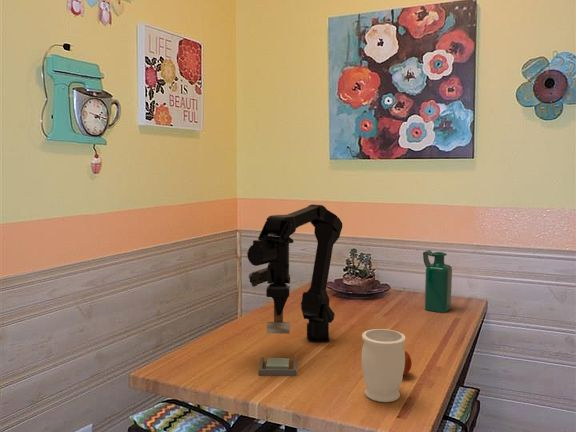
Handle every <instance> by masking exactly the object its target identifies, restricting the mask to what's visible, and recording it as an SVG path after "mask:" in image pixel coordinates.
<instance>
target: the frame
mask: <svg viewBox="0 0 576 432" xmlns="http://www.w3.org/2000/svg"><path fill="white" fill-rule="evenodd" d="M264 360H265V358H264V356H261V357H260V359H259V366H258V376H267V377H268V376H273V377H275V376H277V377H279V376H285V377H286V376H288V377H289V376H291V377H292V376H293V377H296V376H297V357H296V356H294V357H293V362H292V363H293V364H292V365H293V366H292V367H293V368H289V369H266V368H264V362H265V361H264Z"/></svg>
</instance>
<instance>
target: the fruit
mask: <svg viewBox="0 0 576 432" xmlns="http://www.w3.org/2000/svg"><path fill="white" fill-rule="evenodd" d="M404 351H405V367H404V372H403V376H405V375H406V374H408V373H409V372H410V371H411V368H412V362H413V361H412V358H411V356H410V354H409V352H407V351H406V350H404Z"/></svg>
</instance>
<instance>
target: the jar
mask: <svg viewBox="0 0 576 432" xmlns="http://www.w3.org/2000/svg"><path fill="white" fill-rule="evenodd" d="M361 338H362V341H363V344H362V349H361V359H360V360H361V368H362V369H361V370H362V376H363V381H364V384H365V386H366V389H365V391H364V394H365V396H366V397H367V398H368V399H370V400H371V401H372V400H373V401H375V402H380V403H390V402H395V401H397V400H398V399H400V395H401V394H400V391H399V389H400V387H401V385H402V382H403V377H404V375H403V372H404V367H405V351H406V350H405V347H404V344H405V342H406V336H405V334H404V333H402V332H400V331H397V330H393V329H387V328H375V329H369V330H366V331H364V332H362V334H361Z"/></svg>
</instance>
